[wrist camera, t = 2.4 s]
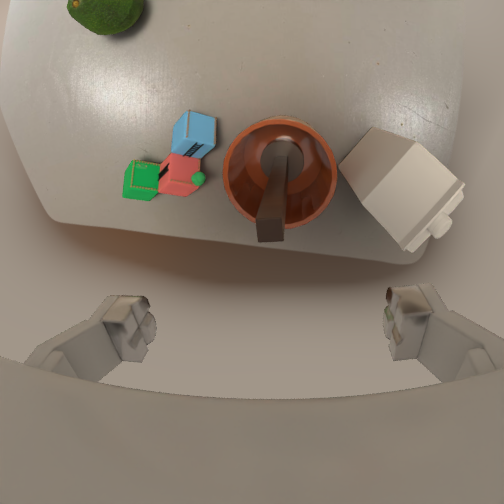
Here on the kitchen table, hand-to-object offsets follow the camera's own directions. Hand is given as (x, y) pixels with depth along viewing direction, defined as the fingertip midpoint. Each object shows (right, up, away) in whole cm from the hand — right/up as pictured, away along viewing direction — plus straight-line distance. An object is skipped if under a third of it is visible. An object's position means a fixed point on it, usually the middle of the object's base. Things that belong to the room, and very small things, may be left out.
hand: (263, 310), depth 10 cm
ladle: (+3, +13, +27) cm, 30 cm away
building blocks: (-11, +15, +29) cm, 34 cm away
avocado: (-17, +34, +20) cm, 43 cm away
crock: (+3, +14, +28) cm, 31 cm away
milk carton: (+15, +13, +27) cm, 33 cm away
